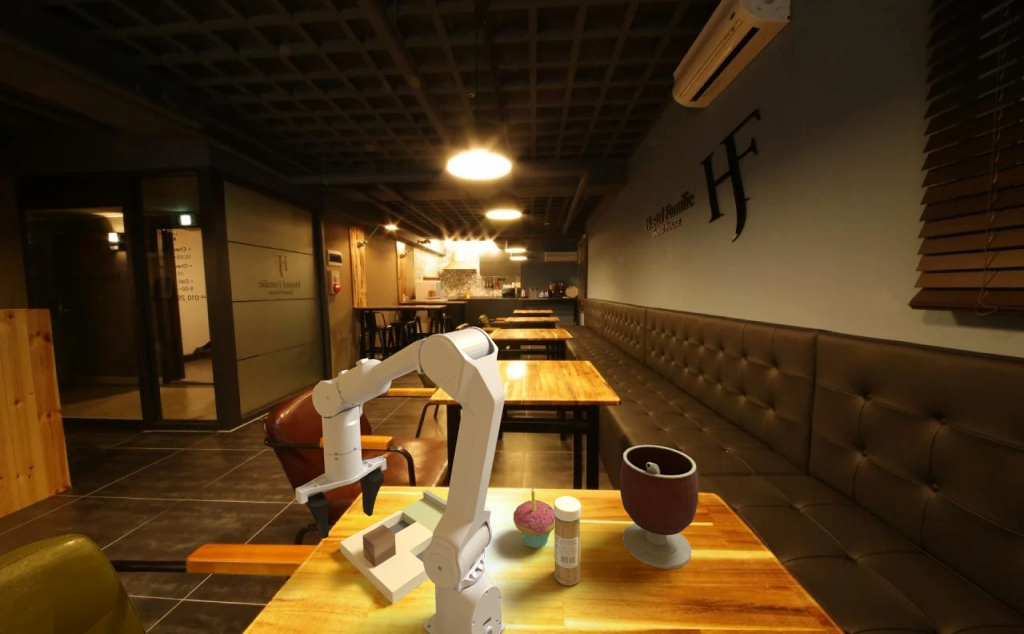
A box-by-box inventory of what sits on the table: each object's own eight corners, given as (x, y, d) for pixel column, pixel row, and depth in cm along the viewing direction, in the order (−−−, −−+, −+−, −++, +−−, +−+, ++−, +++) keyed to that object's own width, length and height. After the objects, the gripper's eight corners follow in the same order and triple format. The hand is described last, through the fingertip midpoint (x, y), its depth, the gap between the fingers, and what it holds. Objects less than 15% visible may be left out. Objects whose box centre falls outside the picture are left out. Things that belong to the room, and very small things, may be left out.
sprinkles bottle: (582, 571, 66) (583, 498, 65) (576, 590, 62) (577, 513, 60) (557, 563, 68) (558, 492, 66) (550, 582, 64) (550, 506, 62)
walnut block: (395, 554, 68) (395, 533, 67) (375, 567, 64) (374, 545, 64) (383, 544, 70) (383, 524, 70) (363, 556, 67) (362, 535, 67)
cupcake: (554, 557, 69) (554, 495, 68) (509, 551, 71) (508, 491, 70) (557, 528, 78) (558, 472, 76) (517, 523, 79) (517, 468, 78)
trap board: (482, 538, 74) (482, 521, 74) (393, 604, 59) (392, 583, 59) (427, 504, 86) (426, 489, 86) (340, 552, 71) (339, 534, 71)
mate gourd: (629, 514, 82) (631, 425, 80) (700, 537, 74) (704, 439, 73) (606, 558, 69) (608, 453, 67) (689, 591, 61) (693, 474, 60)
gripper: (371, 428, 71) (374, 497, 73) (286, 455, 61) (292, 535, 62) (391, 438, 67) (394, 511, 68) (303, 469, 56) (308, 555, 57)
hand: (346, 523), depth 65 cm, fingers open, 7 cm apart
